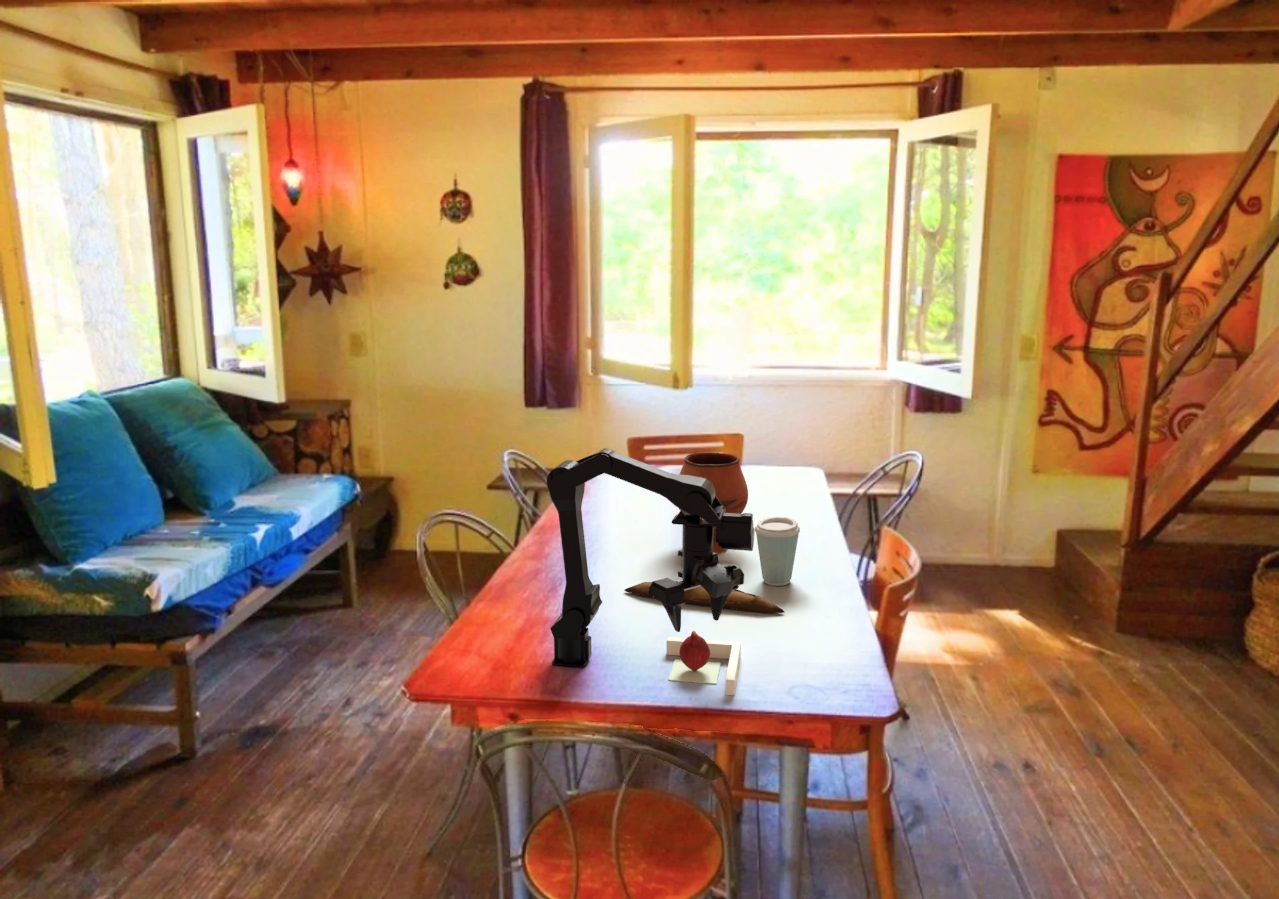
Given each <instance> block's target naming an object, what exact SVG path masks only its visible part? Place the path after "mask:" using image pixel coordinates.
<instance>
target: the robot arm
mask: <svg viewBox="0 0 1279 899" xmlns="http://www.w3.org/2000/svg"><path fill="white" fill-rule="evenodd" d="M603 474H605V475H608V476H611V477H614V478H616V479H619V480H622V481H623V482H626V483H628V484H632V485H634V486H636V487H639V488H642V489H645V490H647V491H650V492H652V493H655V494H657V495H660V496H662V497H664V498H665V499H667V500H668V501H669V502H670V503H671V504H672V505H673V506H675V507H676V508H678V509H679V508H680V509H681V511H680V510H679V512H678V513H677V514H676V515H675V516H674V517H673V518H672V520H671V524H672V525H681V526H682V531H681V532H682V535H681V536H682V544H681V545H682V549H679V550H678V551H677V556H678V557H680V558H682V559H681V564H682V565H681V570H678V571H677V577H678V578H681V580H680V581H678V582H675V581H676V580H673V579H670V578H669V577H664V578H661V579H657V580H652V581H651V582H652V583H651V584H650V585H649V596H651V597H650V598H652V597H653V599H655V600H657V601H659V602H660V603H661V604H662V606H663V608H664V610H665V611H666V614H667V616H668V618H669V620H670V622H671V626H673V629H674V630H675V632H676V633H680V632H681V628H682V627H681V626H682V607H683V605H684V604H686V603H685V601H683V600H682V599H683V597H684V591H687V590H691V589H694V588H698V587H703V588H704V589H705V590H706V591H707V592H708V594H709V595H710V600H711V606H710V607H711V608H710V609H711V614H712V618H713V620H714V621H716V622H717V621H719V619H720V617H721V614H722V611H723V609H724V608H723V606H724V604H725V601H726V599H727V597H728V595H729V594H731V592H732V591H734V590H739V587H740V586H741V585H745V573H744V571H743V570H742V568H741V567H740V566H739V565H738V564H736V563H734V564H730V563H727V562H723V563H720V560H719V556H718V554H719V553H715V552H713V526H714V527H716V543H718V546H721V548H722V549H727V550H731V551H746V552H752V551H753V550H754V545H755V527H754V519H753V518H754V514H753V513H751V512H742V513H741V514H736V513H725V511H726V509H725V508H724V506H723V505H722V504H721V502H720V501H719V499H718V498H717V497H716V493H715V488H714V486H713V484H712V483H711V482H710V481H709V480H707V479H705V478H701V477H696V476H691V475H679V474H680V473H679V474H677V473H673V472H669V471H666V470H663V469H661V468H658V467H655V466H653V465H650V464H648V463H645V462H642V461H640V460H637V459H635V458H632V457H630V456H627V455H624V454H622V453H619V452H617V451H615V450H613V449H612V448H607V447H605V448H603V449H600V450H599V451H597V452H596V453H593V454H590V455H588V456H584V457H583V458H581V459H578V460H576V461H575V460H572V459H568V460H564V461H562V462H561V463H559V464H558V465H556V467H554V468H553V469H552V470H550V472H549V473H548V474H547V478H546V486H547V489H548V493H549V497H550V500H551V502H552V504H553V505H554V508H555V509H556V511H557V514H558V520H559V521H558V522H559V530H560V540H561V549H562V558H563V566H564V574H565V587H564V591H563V592H564V593H563V597H562V608H561V614H560V615H559V616H558V617H557V619H556V620H555V621H554V623H553V624H552V625H551V626H550V631H551V635H552V637H553V651H554V653H553V657H554V658H553V659H552V661H551V665H552V666H560V667H561V666H562V667H574V668H584V667H586V664H587V663H588V662H589V661H590V658H591V657H592V636H591V635H589V628H588V626H589V625H591V623H592V621H593V620H594V618H595V616H596V615H597V614H598V612H599V609H600V606H602V603H603V600H602V599H601V595H600V592H601V591H600V590H601V587H600V586H601V585H600V584H599V583H597V584H593V582H592V581H591V579H590V576H589V569H588V559H587V551H586V550H587V548H586V539H585V532H584V521H583V511H582V504H583V499H584V495H585V494H584V493H585V489H586V488H585V487H586V483H587V482H589V481H591V480H593V479H595V478H597V477H598V476H601V475H603Z"/></svg>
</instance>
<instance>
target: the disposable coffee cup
mask: <svg viewBox="0 0 1279 899" xmlns="http://www.w3.org/2000/svg"><path fill="white" fill-rule="evenodd" d="M798 524H799V523H798V522H797V520H796V519H794V518H790V517H785V516H772V517H766V518H764V519H761V520H759V521H758V523H757V525H756V526H755V527H754V533H755V534H756V541H757V547H758V548H757V549H758V555H759V562H760V568H761V577H762V579H763V582H764V583H765V584H766V585H769V586H776V587H778V586H779V587H781V586H786V585H789V584H790V582H791V580H792V577H793V572H794V563H795V557H796V551H797V546H798V540H799V534H800V533H801V531H800V529H801V528H800V527H799V525H798Z"/></svg>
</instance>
